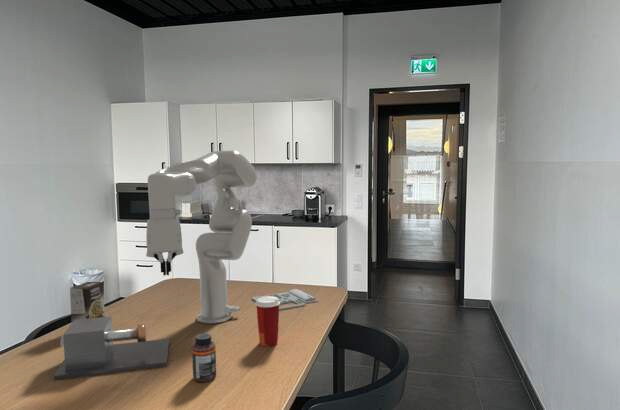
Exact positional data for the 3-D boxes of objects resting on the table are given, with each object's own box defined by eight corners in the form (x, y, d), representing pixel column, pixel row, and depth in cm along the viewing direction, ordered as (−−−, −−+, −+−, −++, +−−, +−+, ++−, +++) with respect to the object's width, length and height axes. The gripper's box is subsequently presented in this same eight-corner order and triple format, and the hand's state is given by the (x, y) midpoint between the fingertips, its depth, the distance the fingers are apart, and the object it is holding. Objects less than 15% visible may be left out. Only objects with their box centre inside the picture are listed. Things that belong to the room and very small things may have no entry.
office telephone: (300, 287, 196) (323, 297, 178) (300, 292, 196) (323, 304, 178) (251, 294, 184) (270, 306, 167) (251, 300, 184) (270, 313, 167)
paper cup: (284, 339, 139) (283, 296, 138) (275, 349, 132) (274, 303, 131) (262, 337, 142) (261, 294, 141) (251, 346, 135) (250, 301, 134)
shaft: (146, 338, 131) (146, 321, 130) (145, 344, 126) (144, 327, 125) (64, 346, 125) (63, 329, 124) (59, 353, 120) (58, 336, 120)
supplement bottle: (195, 373, 117) (193, 332, 116) (217, 372, 118) (216, 331, 117) (191, 383, 111) (189, 340, 110) (214, 382, 112) (213, 339, 111)
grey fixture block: (169, 342, 139) (168, 308, 138) (166, 366, 121) (165, 327, 121) (71, 353, 131) (69, 317, 131) (53, 380, 114) (51, 339, 113)
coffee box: (88, 336, 145) (85, 288, 144) (71, 335, 146) (68, 287, 145) (106, 326, 154) (104, 281, 152) (90, 325, 155) (87, 280, 154)
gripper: (188, 211, 137) (191, 269, 139) (137, 214, 133) (141, 273, 135) (189, 214, 130) (192, 275, 132) (135, 217, 126) (139, 280, 128)
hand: (166, 274), depth 133 cm, fingers closed
